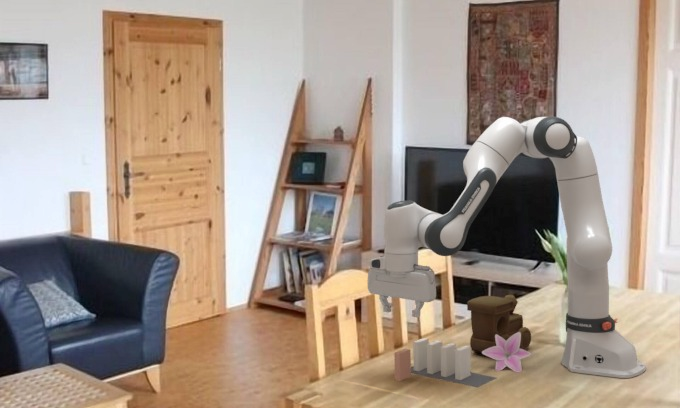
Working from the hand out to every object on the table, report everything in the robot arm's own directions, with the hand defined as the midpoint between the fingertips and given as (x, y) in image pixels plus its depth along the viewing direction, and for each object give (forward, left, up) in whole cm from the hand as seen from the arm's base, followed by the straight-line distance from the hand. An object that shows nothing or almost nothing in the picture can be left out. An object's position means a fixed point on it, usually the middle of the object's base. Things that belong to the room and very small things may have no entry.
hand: (401, 314), depth 245 cm
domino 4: (-8, -10, -17) cm, 22 cm away
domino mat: (-8, -10, -18) cm, 22 cm away
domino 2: (+1, -10, -17) cm, 20 cm away
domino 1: (0, 0, -18) cm, 18 cm away
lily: (-18, -25, -18) cm, 35 cm away
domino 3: (-4, -10, -17) cm, 20 cm away
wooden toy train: (-7, -39, -18) cm, 44 cm away
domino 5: (-13, -10, -17) cm, 24 cm away
